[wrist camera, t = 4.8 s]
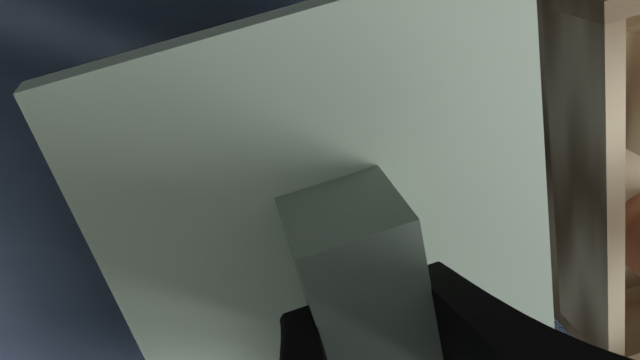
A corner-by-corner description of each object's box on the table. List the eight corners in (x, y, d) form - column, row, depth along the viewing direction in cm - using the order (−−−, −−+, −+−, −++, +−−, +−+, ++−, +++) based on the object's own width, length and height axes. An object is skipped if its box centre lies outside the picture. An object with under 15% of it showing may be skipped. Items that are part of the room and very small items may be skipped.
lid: (530, 366, 20) (611, 473, 16) (223, 477, 19) (236, 618, 15) (495, -62, 14) (615, -43, 10) (29, 70, 12) (-25, 145, 9)
